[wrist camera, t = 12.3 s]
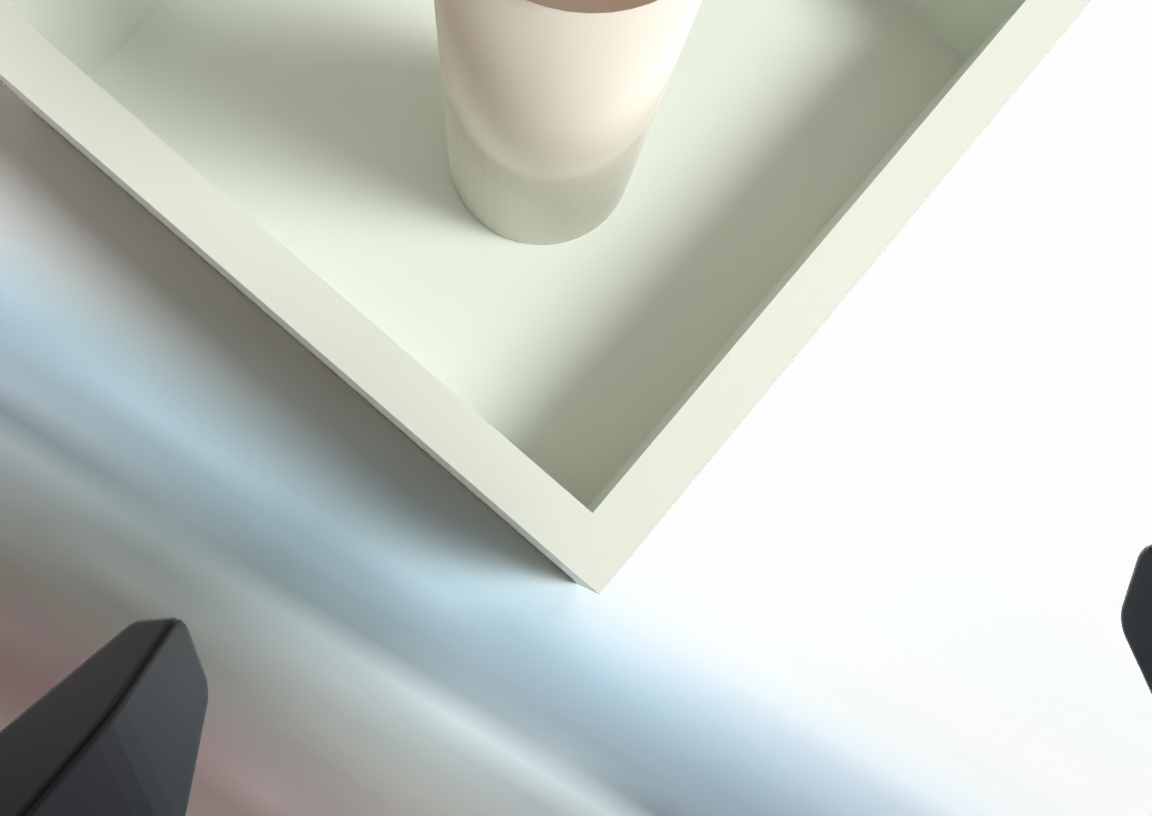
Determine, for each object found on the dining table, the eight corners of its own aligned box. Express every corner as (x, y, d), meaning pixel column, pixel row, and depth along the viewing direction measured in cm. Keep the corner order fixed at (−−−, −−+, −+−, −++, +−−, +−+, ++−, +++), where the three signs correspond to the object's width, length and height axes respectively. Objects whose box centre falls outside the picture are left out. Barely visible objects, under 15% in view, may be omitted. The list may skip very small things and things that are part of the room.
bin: (578, 584, 20) (598, 594, 16) (31, 109, 21) (-78, 6, 17) (1000, 78, 23) (1106, -19, 19) (507, -334, 23) (510, -512, 19)
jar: (477, 265, 20) (472, -4, 10) (426, 94, 20) (373, -322, 11) (652, 219, 21) (809, -79, 11) (600, 54, 21) (703, -378, 11)
